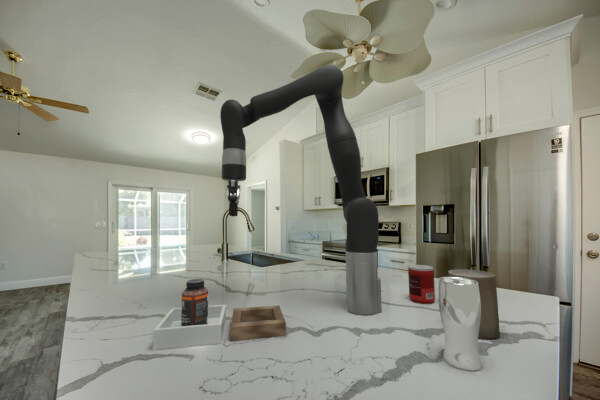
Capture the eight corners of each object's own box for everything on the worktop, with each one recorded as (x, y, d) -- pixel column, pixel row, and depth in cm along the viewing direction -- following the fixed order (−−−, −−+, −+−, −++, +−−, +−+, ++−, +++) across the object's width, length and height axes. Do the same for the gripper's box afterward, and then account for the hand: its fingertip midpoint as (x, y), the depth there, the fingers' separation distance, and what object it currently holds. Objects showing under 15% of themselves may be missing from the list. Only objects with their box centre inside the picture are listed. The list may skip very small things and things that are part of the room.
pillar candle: (503, 330, 62) (498, 266, 63) (496, 344, 55) (490, 272, 56) (457, 320, 69) (454, 262, 70) (446, 331, 62) (442, 267, 63)
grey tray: (225, 319, 70) (226, 304, 70) (220, 343, 56) (221, 324, 57) (171, 324, 67) (171, 308, 67) (152, 350, 54) (153, 330, 54)
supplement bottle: (212, 324, 64) (213, 278, 65) (198, 335, 58) (199, 283, 59) (191, 322, 65) (192, 277, 66) (175, 332, 59) (176, 282, 60)
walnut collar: (279, 316, 72) (279, 305, 72) (285, 335, 60) (285, 322, 60) (233, 320, 69) (233, 308, 70) (230, 341, 57) (230, 327, 57)
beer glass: (433, 353, 52) (429, 276, 53) (466, 351, 52) (461, 276, 53) (457, 373, 45) (452, 285, 46) (494, 371, 45) (489, 284, 47)
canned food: (436, 299, 86) (434, 265, 87) (433, 306, 80) (432, 269, 81) (411, 295, 91) (410, 263, 91) (407, 301, 84) (406, 267, 85)
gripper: (246, 160, 76) (245, 215, 75) (246, 169, 90) (245, 216, 89) (219, 159, 74) (218, 215, 73) (223, 169, 88) (223, 216, 87)
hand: (233, 216), depth 81 cm, fingers open, 8 cm apart
